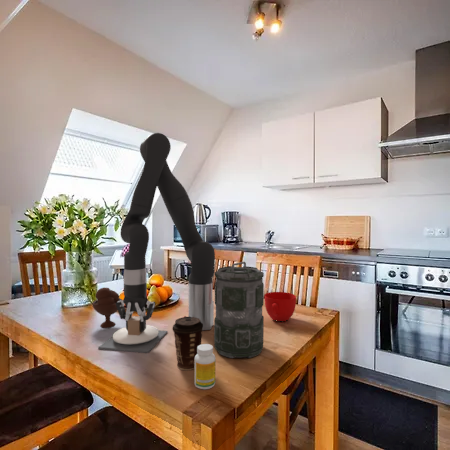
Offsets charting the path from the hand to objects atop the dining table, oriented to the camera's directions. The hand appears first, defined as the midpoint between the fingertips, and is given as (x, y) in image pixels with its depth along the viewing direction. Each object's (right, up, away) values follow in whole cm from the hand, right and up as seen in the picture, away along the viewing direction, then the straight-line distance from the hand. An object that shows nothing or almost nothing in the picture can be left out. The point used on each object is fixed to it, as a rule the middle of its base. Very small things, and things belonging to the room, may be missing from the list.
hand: (136, 330), depth 104 cm
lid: (0, -1, 0) cm, 1 cm away
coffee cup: (+20, -4, -17) cm, 27 cm away
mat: (0, -3, 0) cm, 3 cm away
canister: (+35, -4, -6) cm, 36 cm away
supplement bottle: (+25, -4, -27) cm, 37 cm away
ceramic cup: (+53, -3, +20) cm, 56 cm away
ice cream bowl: (-15, -3, +14) cm, 21 cm away
